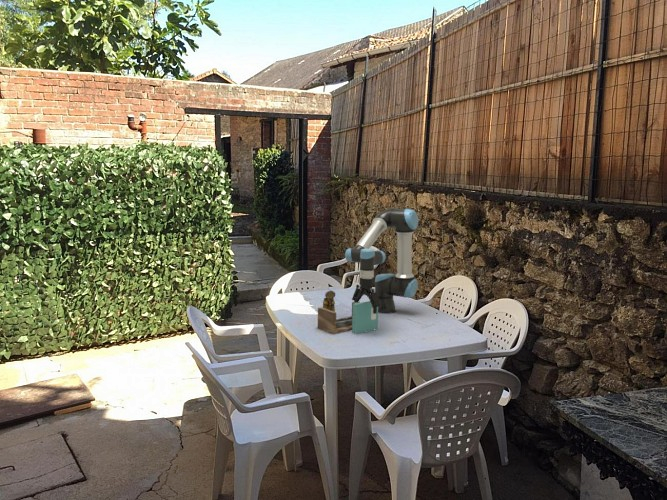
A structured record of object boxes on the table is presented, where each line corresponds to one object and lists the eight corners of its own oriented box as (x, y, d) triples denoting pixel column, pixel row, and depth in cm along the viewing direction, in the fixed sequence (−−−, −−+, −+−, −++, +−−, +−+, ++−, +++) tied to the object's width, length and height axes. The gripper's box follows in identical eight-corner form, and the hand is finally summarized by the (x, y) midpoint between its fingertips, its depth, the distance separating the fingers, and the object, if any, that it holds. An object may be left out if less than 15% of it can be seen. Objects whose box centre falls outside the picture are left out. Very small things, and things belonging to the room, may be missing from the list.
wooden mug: (322, 321, 309) (322, 290, 307) (320, 315, 323) (320, 285, 320) (337, 320, 310) (338, 290, 308) (334, 314, 324) (335, 285, 321)
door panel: (374, 328, 296) (375, 300, 294) (377, 329, 294) (378, 301, 292) (352, 333, 287) (352, 303, 284) (354, 334, 285) (355, 304, 283)
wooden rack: (354, 321, 310) (354, 301, 309) (370, 326, 299) (370, 306, 298) (317, 328, 295) (317, 307, 293) (332, 334, 284) (333, 313, 282)
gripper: (346, 274, 294) (345, 312, 297) (376, 282, 274) (375, 322, 277) (357, 273, 299) (355, 310, 301) (387, 280, 279) (385, 320, 282)
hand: (365, 316), depth 289 cm, fingers open, 13 cm apart
